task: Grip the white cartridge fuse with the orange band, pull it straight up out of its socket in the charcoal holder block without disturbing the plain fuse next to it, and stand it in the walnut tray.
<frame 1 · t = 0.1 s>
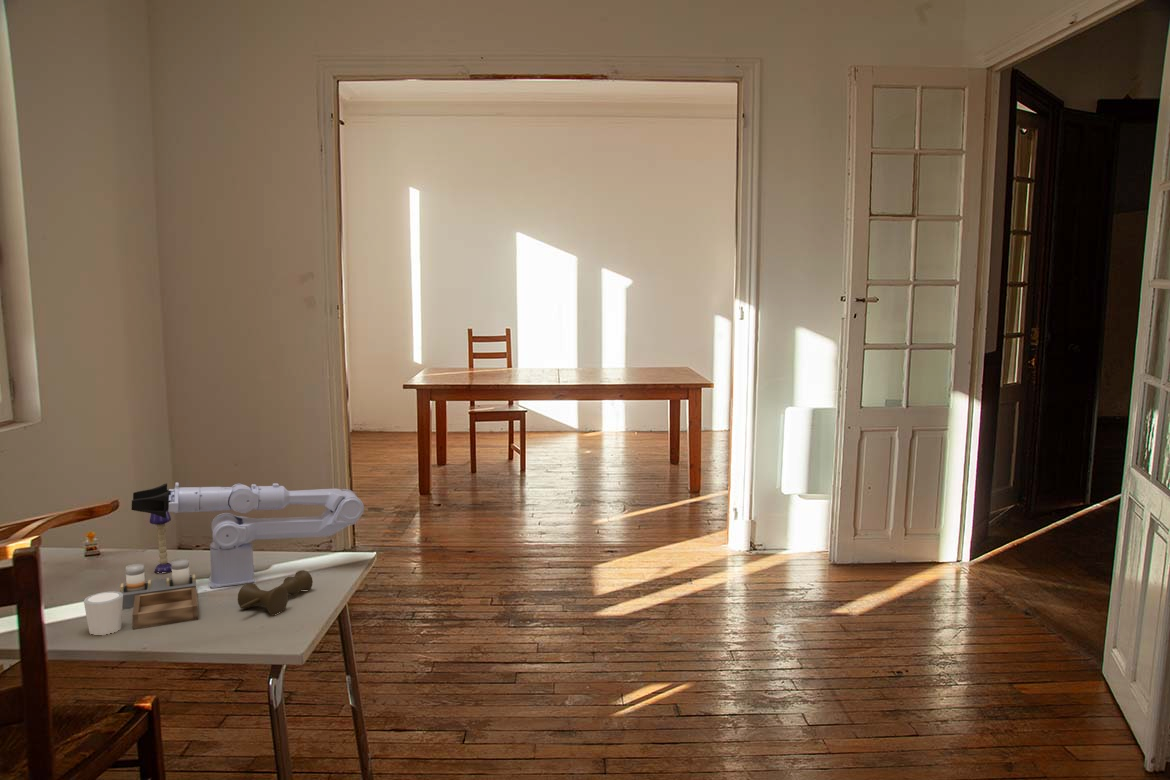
hand: (132, 501, 181), 22 cm above the table, tool horizontal, fingers open, 7 cm apart
white tapered cup: (105, 630, 163), on the table
tray: (166, 613, 172), on the table
marked fuse: (136, 600, 179), resting in fuse holder
kendama: (275, 605, 178), on the table
fuse holder: (159, 597, 181), on the table
plain fuse: (181, 594, 183), resting in fuse holder
toy lamp: (162, 572, 198), on the table
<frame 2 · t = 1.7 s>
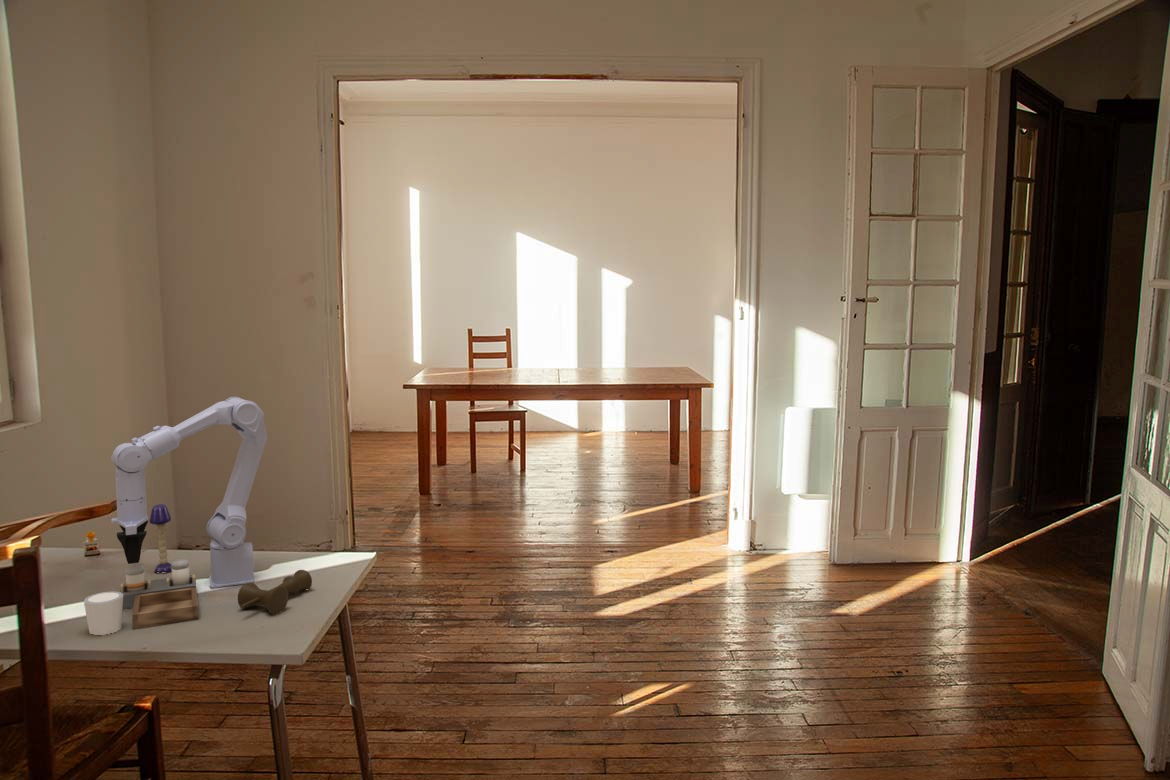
hand: (134, 557, 178), 10 cm above the table, tool pointing down, fingers open, 7 cm apart
nothing on the table moved.
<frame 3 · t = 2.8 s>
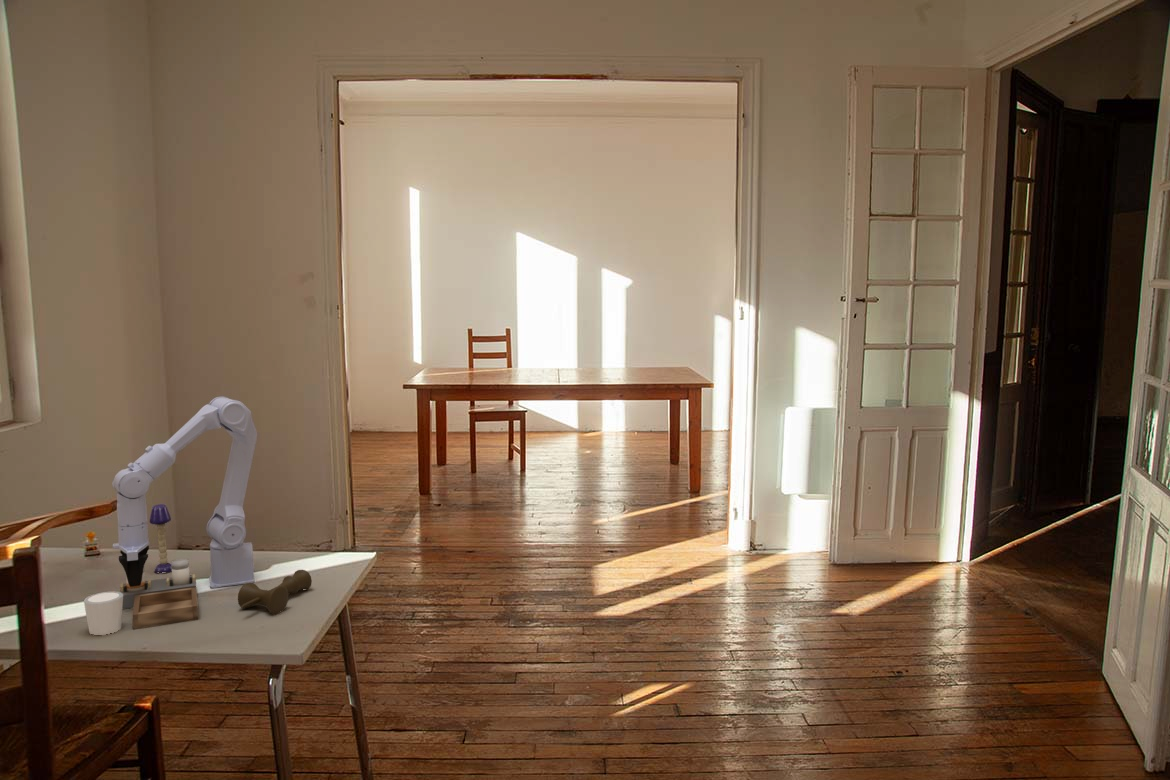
hand: (135, 582, 178), 4 cm above the table, tool pointing down, fingers closed on marked fuse, 4 cm apart
marked fuse: (136, 600, 179), resting in fuse holder, touching gripper
everything else where it was.
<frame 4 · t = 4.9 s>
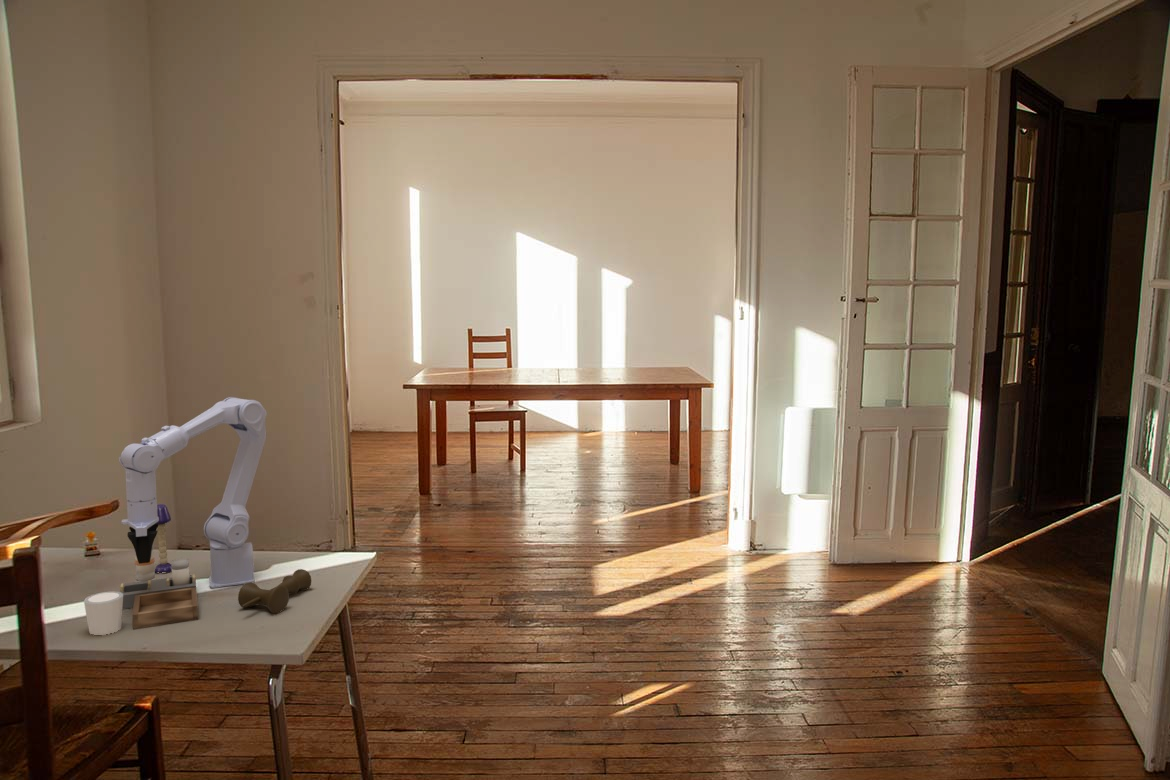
hand: (144, 559, 175), 10 cm above the table, tool pointing down, fingers closed on marked fuse, 4 cm apart
marked fuse: (145, 578, 176), point 6 cm above the table, touching gripper
everything else where it was.
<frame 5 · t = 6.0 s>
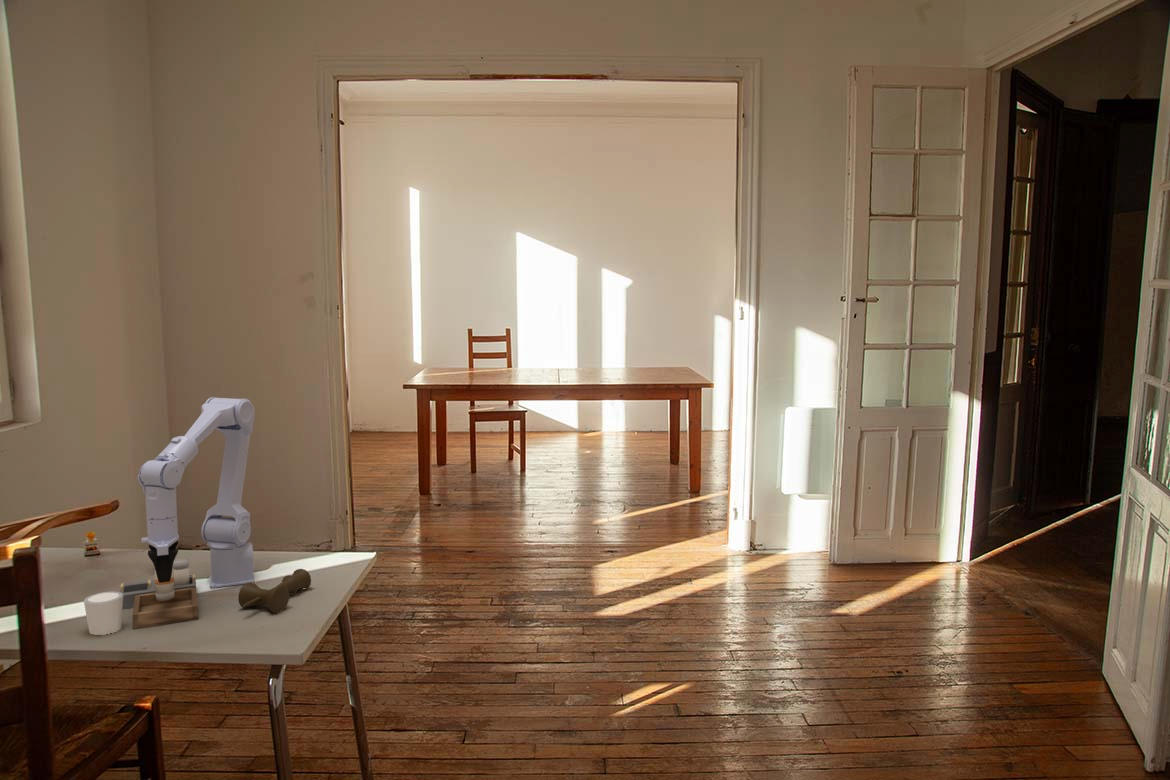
hand: (164, 578, 171), 8 cm above the table, tool pointing down, fingers closed on marked fuse, 4 cm apart
marked fuse: (165, 597, 171), point 4 cm above the table, touching gripper
everything else where it was.
when the fingers open (6 cm above the table, at t = 6.8 s): marked fuse stays where it is, resting on tray.
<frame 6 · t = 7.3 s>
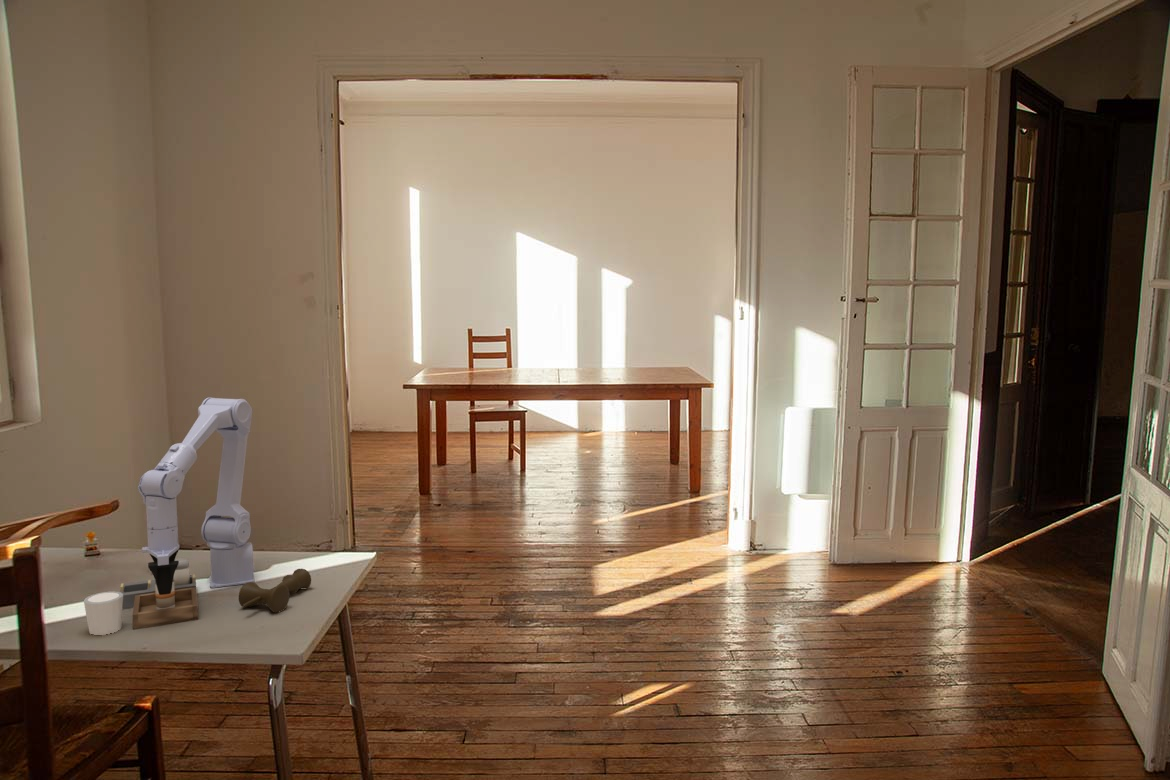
hand: (165, 587, 171), 6 cm above the table, tool pointing down, fingers open, 7 cm apart
marked fuse: (165, 611, 172), point 1 cm above the table, touching tray
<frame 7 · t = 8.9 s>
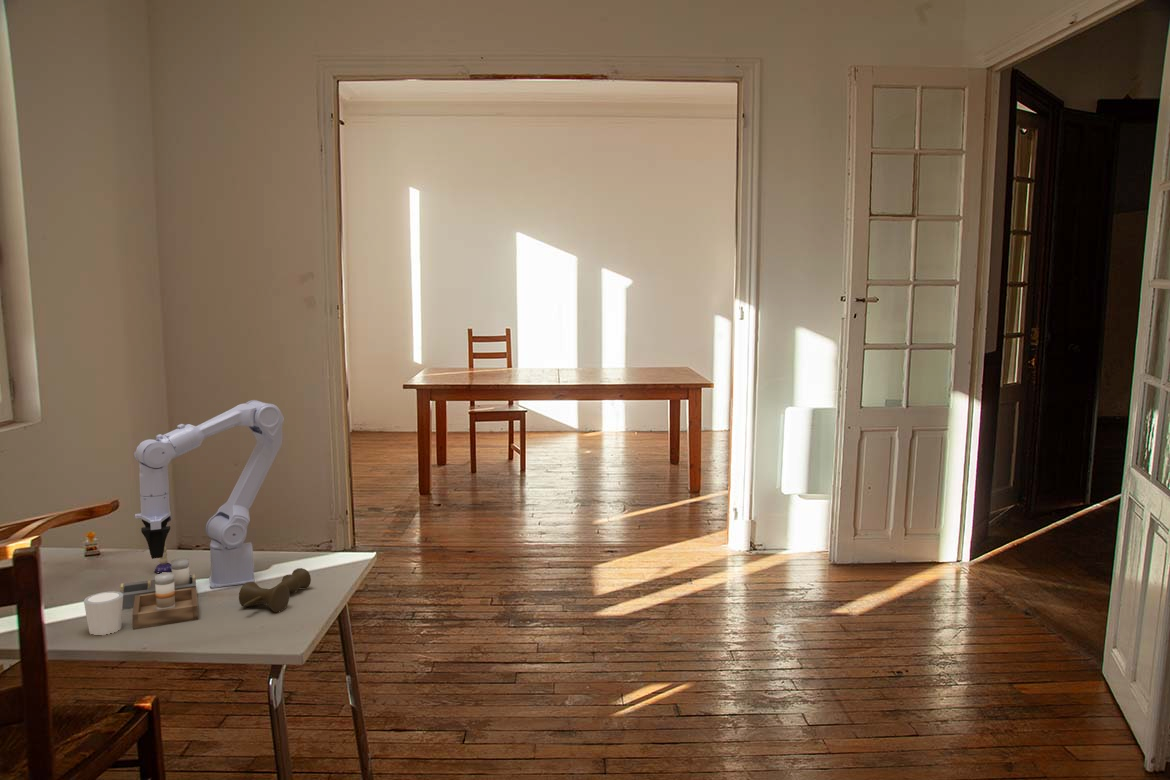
hand: (157, 552, 180), 10 cm above the table, tool pointing down, fingers open, 7 cm apart
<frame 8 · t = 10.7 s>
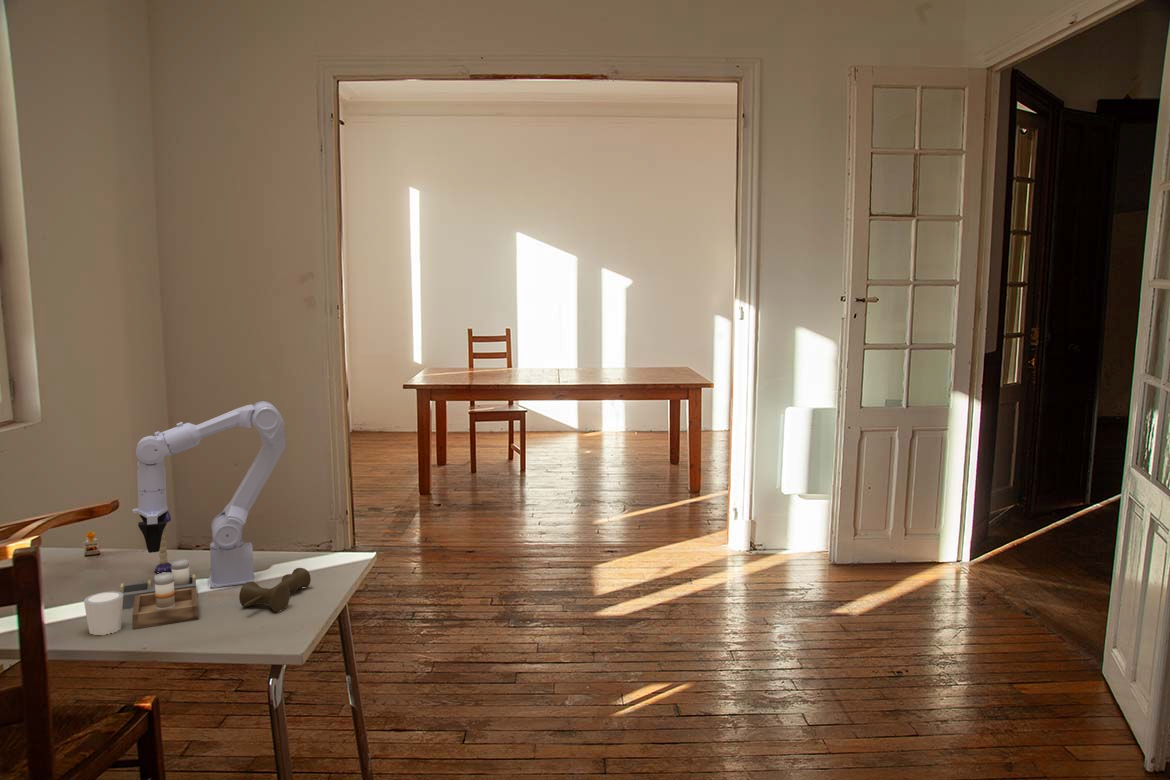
hand: (154, 547, 184), 10 cm above the table, tool pointing down, fingers open, 7 cm apart
at the end: marked fuse inside the target area on the tray (0.1 cm from its centre), point 0.6 cm above the tray's base; marked fuse tilted 0°; plain fuse moved 0.0 cm from its start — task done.
